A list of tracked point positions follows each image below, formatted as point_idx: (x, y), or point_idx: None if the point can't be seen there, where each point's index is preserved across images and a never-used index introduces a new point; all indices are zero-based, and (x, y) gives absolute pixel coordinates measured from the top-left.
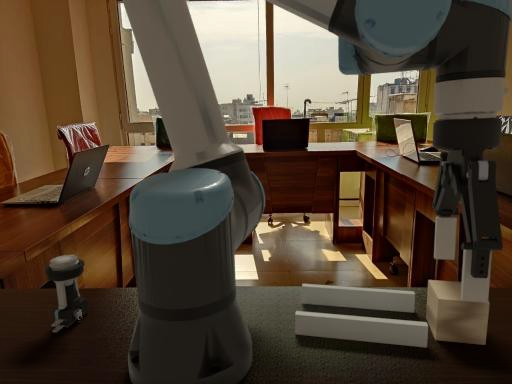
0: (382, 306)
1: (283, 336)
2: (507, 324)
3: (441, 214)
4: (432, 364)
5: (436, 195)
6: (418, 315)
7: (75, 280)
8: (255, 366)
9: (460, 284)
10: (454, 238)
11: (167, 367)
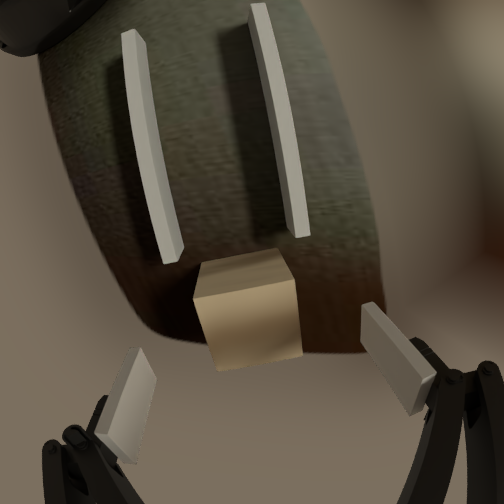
0: (278, 167)
1: None
2: None
3: (435, 389)
4: (133, 257)
5: (487, 412)
6: (279, 235)
7: None
8: (56, 48)
9: (287, 336)
10: (384, 373)
11: None
